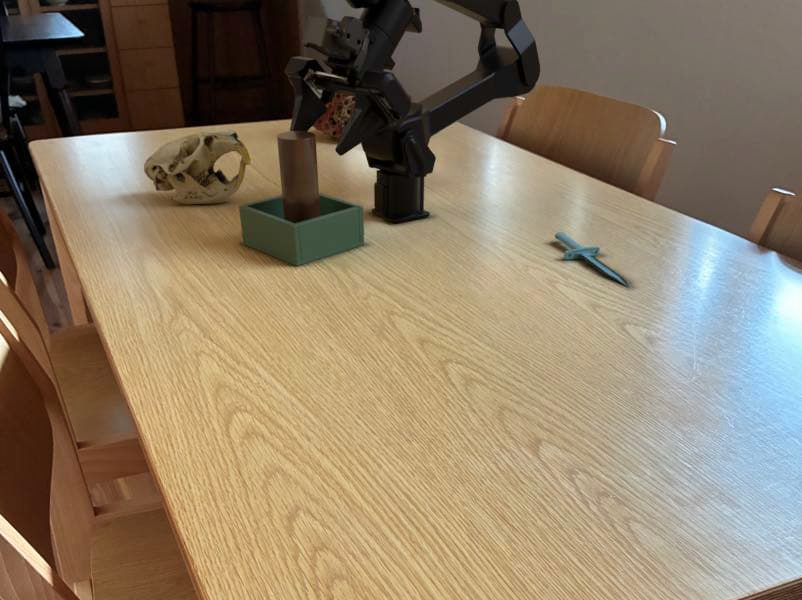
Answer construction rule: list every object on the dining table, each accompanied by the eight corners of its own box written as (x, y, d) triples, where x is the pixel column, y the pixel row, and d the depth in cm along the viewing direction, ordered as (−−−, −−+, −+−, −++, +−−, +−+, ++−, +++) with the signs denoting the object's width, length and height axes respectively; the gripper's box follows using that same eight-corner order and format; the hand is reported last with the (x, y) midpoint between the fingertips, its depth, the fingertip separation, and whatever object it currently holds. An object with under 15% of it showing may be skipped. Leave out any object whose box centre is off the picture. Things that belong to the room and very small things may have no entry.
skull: (248, 200, 118) (222, 126, 112) (156, 225, 123) (127, 155, 117) (271, 185, 125) (247, 115, 120) (183, 209, 130) (157, 143, 125)
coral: (423, 88, 159) (414, 75, 145) (406, 160, 164) (396, 153, 150) (334, 63, 159) (317, 47, 146) (320, 136, 164) (302, 127, 151)
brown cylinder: (327, 237, 110) (321, 132, 102) (313, 248, 106) (306, 140, 98) (295, 233, 111) (286, 129, 103) (280, 244, 107) (270, 137, 99)
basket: (309, 225, 115) (307, 188, 112) (364, 244, 109) (363, 206, 106) (243, 244, 109) (238, 205, 106) (296, 266, 102) (293, 226, 99)
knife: (647, 279, 98) (612, 285, 96) (645, 289, 98) (610, 294, 97) (574, 229, 109) (542, 233, 108) (573, 237, 110) (541, 242, 109)
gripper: (289, -19, 101) (228, 92, 101) (394, -9, 90) (325, 115, 91) (339, 48, 110) (283, 149, 111) (439, 64, 100) (377, 176, 100)
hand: (314, 146), depth 103 cm, fingers open, 9 cm apart
